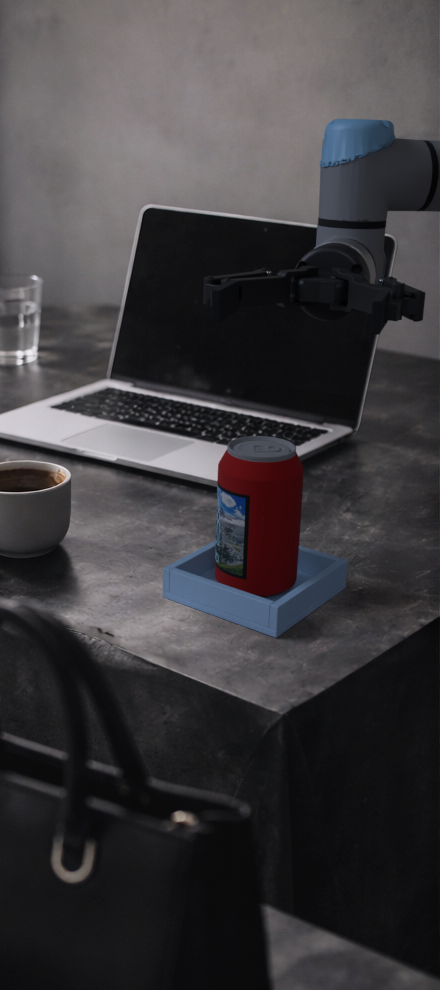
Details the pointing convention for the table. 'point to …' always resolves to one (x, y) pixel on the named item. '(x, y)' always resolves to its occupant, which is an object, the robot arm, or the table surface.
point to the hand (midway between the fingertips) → (294, 311)
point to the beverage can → (258, 515)
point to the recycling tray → (271, 615)
